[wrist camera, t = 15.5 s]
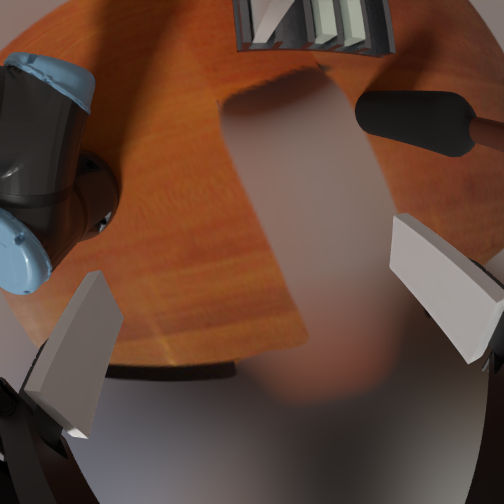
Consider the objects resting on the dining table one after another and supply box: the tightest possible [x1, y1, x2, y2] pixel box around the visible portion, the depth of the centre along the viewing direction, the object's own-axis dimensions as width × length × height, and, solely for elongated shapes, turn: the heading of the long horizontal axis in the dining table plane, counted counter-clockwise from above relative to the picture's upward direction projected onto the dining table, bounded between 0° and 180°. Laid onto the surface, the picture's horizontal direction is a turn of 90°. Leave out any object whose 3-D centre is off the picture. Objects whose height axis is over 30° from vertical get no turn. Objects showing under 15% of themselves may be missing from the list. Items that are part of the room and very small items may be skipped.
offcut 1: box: [310, 0, 337, 44], centre depth 27 cm, size 2×12×6 cm, turn 5°
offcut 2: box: [339, 0, 366, 46], centre depth 27 cm, size 2×12×6 cm, turn 5°
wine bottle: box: [355, 91, 504, 157], centre depth 26 cm, size 8×8×30 cm
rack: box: [232, 0, 396, 58], centre depth 28 cm, size 23×14×6 cm, turn 95°
